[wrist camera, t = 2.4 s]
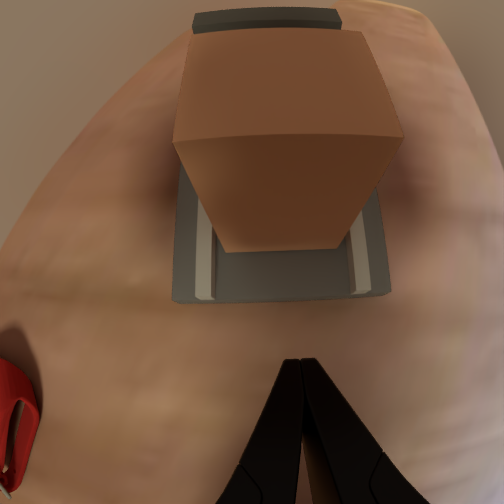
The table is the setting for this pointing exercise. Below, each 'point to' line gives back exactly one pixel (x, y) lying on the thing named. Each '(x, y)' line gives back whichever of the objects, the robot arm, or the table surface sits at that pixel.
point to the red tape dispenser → (3, 401)
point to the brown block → (283, 134)
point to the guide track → (273, 262)
